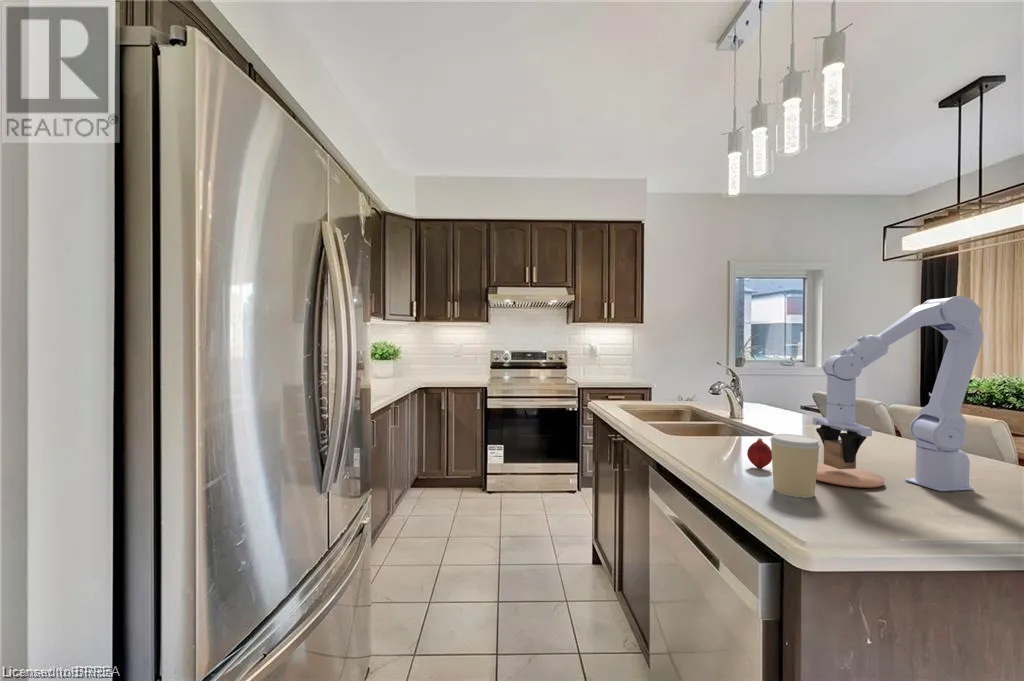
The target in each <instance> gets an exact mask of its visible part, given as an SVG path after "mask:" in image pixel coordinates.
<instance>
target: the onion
mask: <svg viewBox="0 0 1024 681" xmlns="http://www.w3.org/2000/svg"><path fill="white" fill-rule="evenodd" d="M746 456H747V458H748V460H749V462H750V463H751V464H752V465H754V467H755V468H757V469H759V470H760V469H763V468H765V467H766V466H768V465H769V464H770V463H772V449H771V446H769V445H768V444H767V443H765V442H764V441H763V439H762V438H761V437H758V438H757V440H756V441H755V442H753V443H752V444H750V445H749V447H748V448H747V453H746Z"/></svg>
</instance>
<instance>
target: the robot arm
mask: <svg viewBox="0 0 1024 681" xmlns="http://www.w3.org/2000/svg"><path fill="white" fill-rule="evenodd" d="M981 314H982V308H981V307H980V306H979V305H978V304H977V303H976V302H975V301H974V300H973V299H972V298H970V297H968V296H964V295H956V296H951V297H945V298H943V297H942V298H932V299H928V300H926V301H924V302H923V303H922V304H918V305H917V306H915V307H913V308H912V309H911V310H910V311H909V312H907V313H906V314H904V315H903V316H902V317H901V318H899V319H897V320H896V321H895V322H893V323H892V324H891V325H889V326H888V327H886V328H885V329H884V330H882V331H881V332H879V333H878V334H876V335H874V334H866V335H861V336H859V337H857V338H856V342H854V343H853V344H852V345H850V346H848V347H847V348H842V349H840V350H839V353H840V354H836V355H835V354H834V355H832V356H829V357H828V358H827V359H826V360H825V362H824V364H823V365H822V371H823V372H824V374H825V375H826V377H827V378H826V380H827V381H826V383H827V384H826V417H824V416H823V417H822V416H821V417H820V416H812V425H815V426H819V427H816V429H815V431H816V433H817V434H818V436H819V437H820V439H821V442H822V445H823V446H824V440H841V441H842V445H843V456H844V462H846V463H854V460H855V457H856V458H857V455H858V451H859V449H860V447H861V446H862V445H863V443H864V441H865V440H867V437H873V428H872V427H869V426H867V425H866V426H865V425H862V424H860V423H856V394H857V393H856V392H857V385H856V382H857V377H860V375H861V373H862V369H863V370H864V369H865V368H866V367H867V366H870V365H871V364H873V363H875V361H877V360H878V359H881V358H882V357H883V356H886V355H887V354H888V351H889V347H890V345H892V344H894V343H896V342H898V341H899V340H901V339H902V338H903V339H904V337H906V336H908V335H909V334H911V333H914V331H916V330H919V329H920V328H921V327H926V326H927V327H928V326H930V327H932V328H933V329H936V331H937V330H938V331H939V332H940V333H941V334H942V335H943V336H944V337H945V339H946V340H947V344H946V347H945V351H944V354H943V357H942V360H941V363H940V367H939V368H938V369H939V370H938V372H937V375H936V379H935V383H934V385H933V389H932V392H931V395H930V398H929V402H928V404H927V405H925V406H923V407H922V408H921V409H920V410H919V412H918V414H917V416H916V417H915V418H914V419H913V420H912V421H911V422H910V425H909V433H910V434H911V436H912V437H913V438H914V439H915V467H914V468H915V469H914V470H915V471H914V472H915V475H914V476H915V477H908V478H905V479H904V480H905V481H906V482H909V483H912V484H915V485H918V486H922V487H926V488H928V489H932V490H935V491H938V492H951V491H954V492H955V491H969V490H971V491H972V490H974V487H973V486H970V467H971V466H970V463H971V462H970V458H969V457H968V455H967V454H966V453H965V452H964V450H961V449H960V448H962V447H963V446H964V445H965V443H966V442H967V433H966V424H967V420H966V419H965V417H964V415H963V414H962V413H961V409H962V405H963V403H964V400H965V396H966V393H967V390H968V387H969V384H970V381H971V377H972V374H973V371H974V369H975V364H976V362H977V359H978V356H979V352H980V350H981V346H982V345H983V344H982V343H983V340H984V332H983V327H982V324H981V320H980V319H981V318H980V316H981ZM842 431H843V432H842ZM839 438H840V439H839Z"/></svg>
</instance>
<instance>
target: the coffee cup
mask: <svg viewBox="0 0 1024 681" xmlns="http://www.w3.org/2000/svg"><path fill="white" fill-rule="evenodd" d="M770 443H771V446H770V449H771V451H772V461H771V463H772V464H771V466H772V481H773V482H772V484H773V490H774V491H775V492H777V493H779V494H781V495H784V496H787V497H792V496H793V497H794V498H799V497H802V499H805V498H806V499H807V498H808V499H809V498H813V497H814V496H815V492H816V485H817V483H816V482H817V480H816V475H817V466H818V463H819V454H820V453H819V452H820V447H821V444H820V443H819V440H818V439H816V438H814V437H811V436H805V435H800V434H790V433H776V434H772V435H771V438H770ZM793 497H792V498H793Z"/></svg>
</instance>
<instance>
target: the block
mask: <svg viewBox="0 0 1024 681" xmlns="http://www.w3.org/2000/svg"><path fill="white" fill-rule="evenodd" d="M823 463H824V464H825V465H828V466H831V467H834V468H837V469H856V468H857V456H856V457H855V460H854V463H846V462H844V456H843V445H842V441H841V439H838V440H824V445H823Z"/></svg>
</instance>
